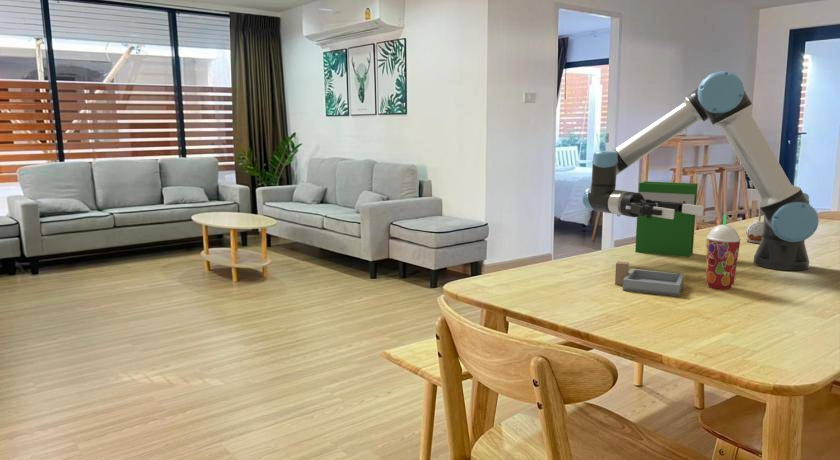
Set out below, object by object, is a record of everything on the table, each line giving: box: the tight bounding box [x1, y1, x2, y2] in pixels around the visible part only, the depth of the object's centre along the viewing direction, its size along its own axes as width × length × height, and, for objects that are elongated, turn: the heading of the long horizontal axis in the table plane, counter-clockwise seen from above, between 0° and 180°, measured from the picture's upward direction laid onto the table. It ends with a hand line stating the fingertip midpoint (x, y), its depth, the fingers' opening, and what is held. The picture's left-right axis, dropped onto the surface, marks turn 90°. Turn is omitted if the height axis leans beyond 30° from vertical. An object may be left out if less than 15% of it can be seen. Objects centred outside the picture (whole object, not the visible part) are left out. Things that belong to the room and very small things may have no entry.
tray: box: [614, 261, 685, 298], centre depth 175 cm, size 17×14×6 cm
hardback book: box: [634, 180, 699, 258], centre depth 219 cm, size 18×7×24 cm, turn 61°
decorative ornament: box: [745, 207, 763, 244], centre depth 238 cm, size 8×8×15 cm
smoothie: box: [705, 214, 742, 291], centre depth 173 cm, size 8×8×20 cm
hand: (688, 212), depth 180 cm, fingers open, 13 cm apart
